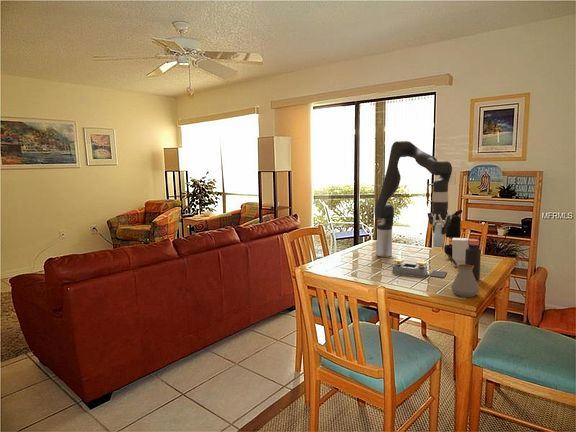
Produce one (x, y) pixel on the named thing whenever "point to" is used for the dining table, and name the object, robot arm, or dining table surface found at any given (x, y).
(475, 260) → the bottle
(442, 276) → the mat
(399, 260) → the plunger
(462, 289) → the coffee pot
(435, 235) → the cartridge
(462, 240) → the skincare box
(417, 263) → the plunger
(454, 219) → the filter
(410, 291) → the dining table surface
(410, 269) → the housing
